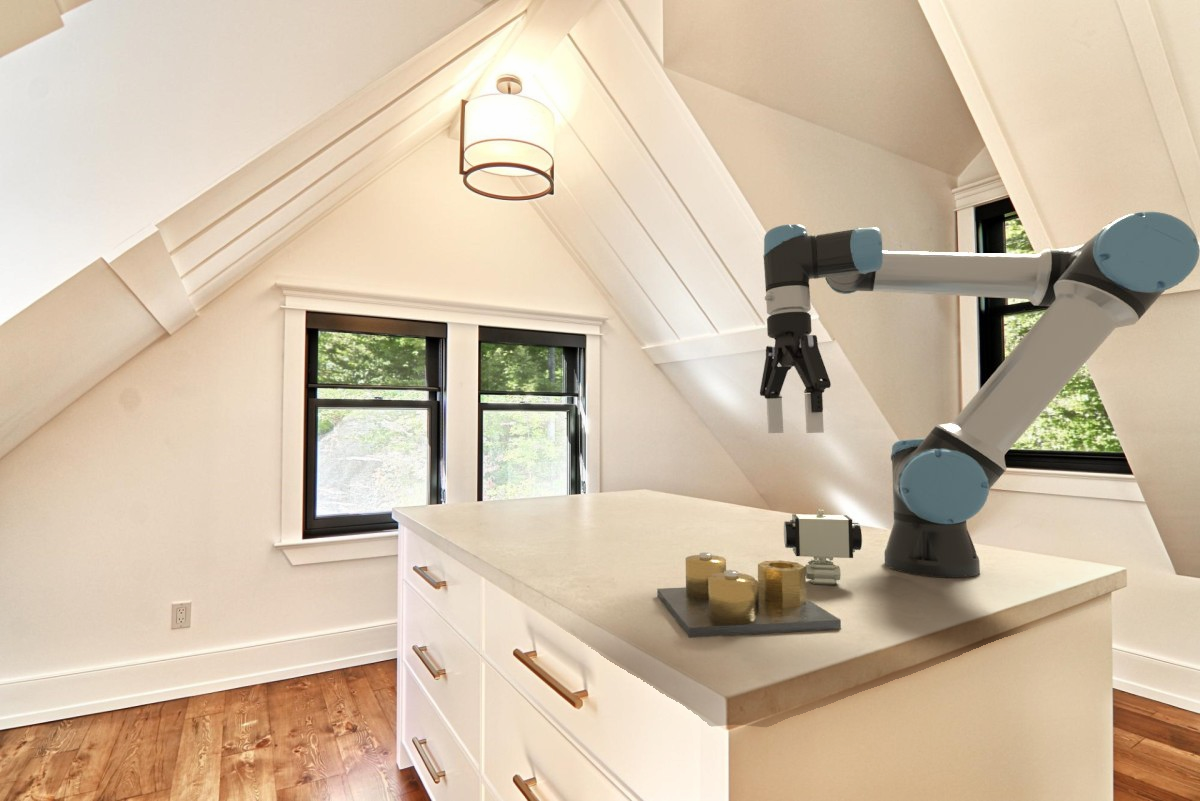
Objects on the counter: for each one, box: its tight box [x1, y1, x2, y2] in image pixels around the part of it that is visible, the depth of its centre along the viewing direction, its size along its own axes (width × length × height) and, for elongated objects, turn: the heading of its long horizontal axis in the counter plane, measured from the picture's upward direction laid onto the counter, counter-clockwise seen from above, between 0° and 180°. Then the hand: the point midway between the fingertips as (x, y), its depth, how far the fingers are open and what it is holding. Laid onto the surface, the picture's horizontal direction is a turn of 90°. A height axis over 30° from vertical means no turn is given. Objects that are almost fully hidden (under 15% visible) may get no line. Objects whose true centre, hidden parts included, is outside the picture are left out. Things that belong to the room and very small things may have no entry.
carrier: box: [656, 552, 842, 639], centre depth 84 cm, size 20×18×7 cm
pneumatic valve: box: [783, 509, 863, 586], centre depth 100 cm, size 6×12×12 cm, turn 78°
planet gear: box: [757, 559, 807, 608], centre depth 85 cm, size 6×6×5 cm
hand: (794, 433), depth 105 cm, fingers open, 13 cm apart
